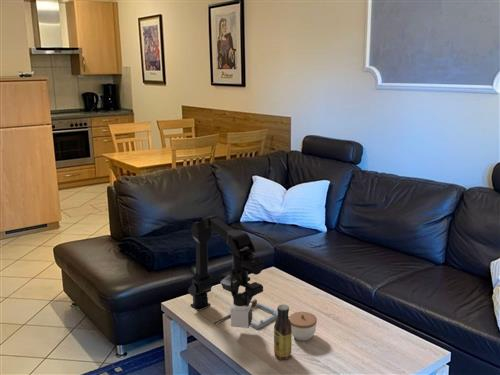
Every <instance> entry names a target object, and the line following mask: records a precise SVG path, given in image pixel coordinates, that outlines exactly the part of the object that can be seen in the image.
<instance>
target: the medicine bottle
mask: <svg viewBox="0 0 500 375" xmlns="http://www.w3.org/2000/svg"><path fill="white" fill-rule="evenodd" d="M232 299H233V302H232V303H233V304H232V307H231V309H230V314H231V316H230V327H234V328H243V329H249V328H250V324H251V321H252V322H253V307H252V303H250V304H249V306H247V307H246V304H245V295H244V294H243V292H238V293H237V294H235V295H234V296H232Z"/></svg>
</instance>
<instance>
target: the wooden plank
mask: <svg viewBox="0 0 500 375" xmlns="http://www.w3.org/2000/svg"><path fill="white" fill-rule="evenodd" d="M250 303H252V308H253V307H255V306H257V304H258V300H257V299H255V298H254V299H252V300H251V302H250Z"/></svg>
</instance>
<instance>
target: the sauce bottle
mask: <svg viewBox="0 0 500 375" xmlns="http://www.w3.org/2000/svg"><path fill="white" fill-rule="evenodd" d="M276 311H278V318H276V319H275V320H276V321H275V323H274V325H273V326H274V327H273V345H274V346H273V353H274V357H275V358H276V359H277V360H279V361H282V360H283V361H285V360H289V359H290V358H291V355H292V344H293V343H292V337H293V335H292V330H291V322H290V320H289V311H290V306H289V305H287V304H279V305H278V306H277V310H276Z"/></svg>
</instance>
